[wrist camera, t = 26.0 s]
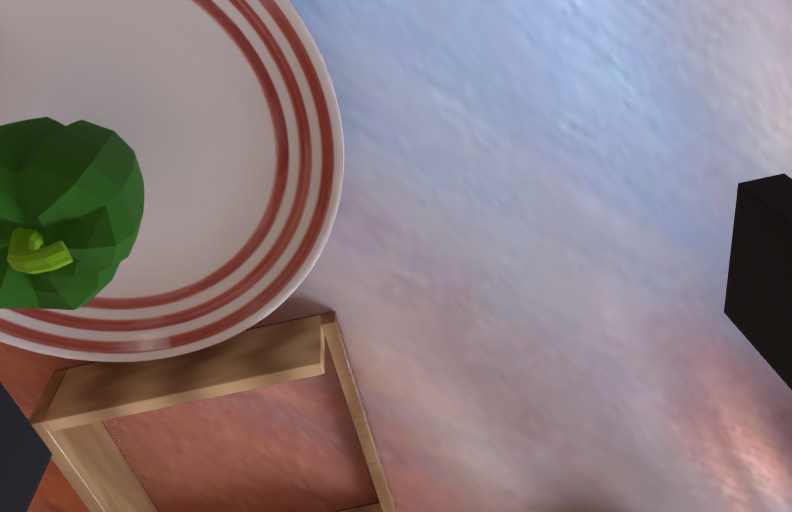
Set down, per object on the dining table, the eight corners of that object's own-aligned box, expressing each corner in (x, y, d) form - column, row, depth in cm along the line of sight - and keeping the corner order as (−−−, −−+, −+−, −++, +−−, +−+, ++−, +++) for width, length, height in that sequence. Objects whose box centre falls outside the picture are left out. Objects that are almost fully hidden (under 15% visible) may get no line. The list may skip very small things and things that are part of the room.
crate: (335, 310, 44) (336, 359, 40) (395, 506, 56) (401, 560, 52) (53, 370, 45) (25, 425, 40) (172, 552, 56) (160, 609, 52)
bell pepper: (8, 232, 35) (-91, 352, 27) (-21, 83, 31) (-150, 170, 22) (168, 243, 36) (122, 361, 28) (162, 102, 32) (105, 191, 24)
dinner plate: (-249, -235, 27) (-316, -245, 24) (393, -60, 32) (399, -51, 30) (-139, 298, 40) (-174, 332, 37) (298, 354, 46) (297, 387, 43)
